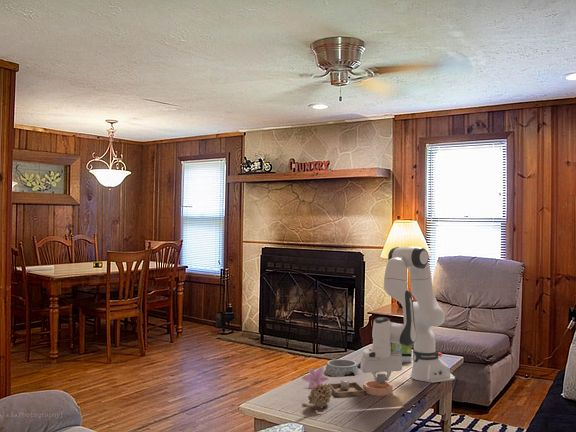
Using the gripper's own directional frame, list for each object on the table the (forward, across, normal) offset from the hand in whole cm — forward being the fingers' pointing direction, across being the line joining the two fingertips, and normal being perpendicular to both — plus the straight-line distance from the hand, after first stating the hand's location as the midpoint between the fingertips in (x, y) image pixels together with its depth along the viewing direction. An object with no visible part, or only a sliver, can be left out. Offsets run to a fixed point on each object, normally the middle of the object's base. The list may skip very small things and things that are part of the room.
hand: (381, 380), depth 252 cm
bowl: (+6, +2, 0) cm, 6 cm away
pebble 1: (+5, +17, -5) cm, 18 cm away
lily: (+6, +30, -12) cm, 32 cm away
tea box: (+6, -34, -55) cm, 65 cm away
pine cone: (+6, +37, +17) cm, 41 cm away
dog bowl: (+6, +9, -36) cm, 37 cm away
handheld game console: (+6, -12, -45) cm, 47 cm away
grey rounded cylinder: (+1, 0, 0) cm, 1 cm away
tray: (+6, +17, -2) cm, 18 cm away
